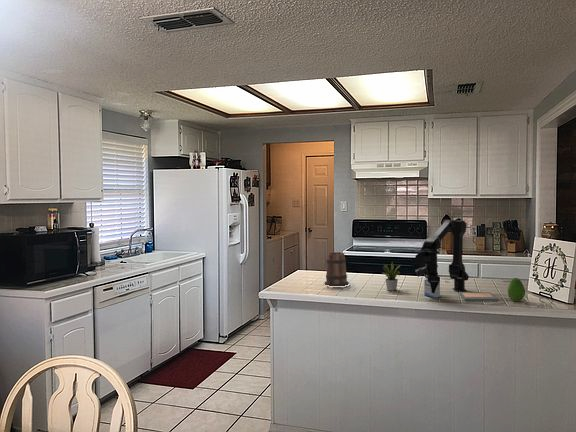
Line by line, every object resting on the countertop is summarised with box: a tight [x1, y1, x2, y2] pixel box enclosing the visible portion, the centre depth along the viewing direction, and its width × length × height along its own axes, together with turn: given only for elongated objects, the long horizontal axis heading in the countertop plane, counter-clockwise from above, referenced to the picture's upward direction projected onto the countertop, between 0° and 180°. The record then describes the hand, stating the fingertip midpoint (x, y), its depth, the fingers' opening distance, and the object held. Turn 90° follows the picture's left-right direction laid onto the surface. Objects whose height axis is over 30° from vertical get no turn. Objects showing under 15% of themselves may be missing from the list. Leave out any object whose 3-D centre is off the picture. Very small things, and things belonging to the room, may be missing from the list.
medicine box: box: [423, 278, 441, 299], centre depth 263 cm, size 8×4×9 cm, turn 23°
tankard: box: [323, 251, 350, 286], centre depth 304 cm, size 24×17×20 cm
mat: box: [458, 291, 499, 302], centre depth 257 cm, size 16×16×1 cm
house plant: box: [378, 261, 401, 292], centre depth 282 cm, size 14×14×16 cm
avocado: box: [507, 277, 526, 302], centre depth 246 cm, size 8×8×12 cm
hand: (432, 291), depth 263 cm, fingers closed on medicine box, 9 cm apart
